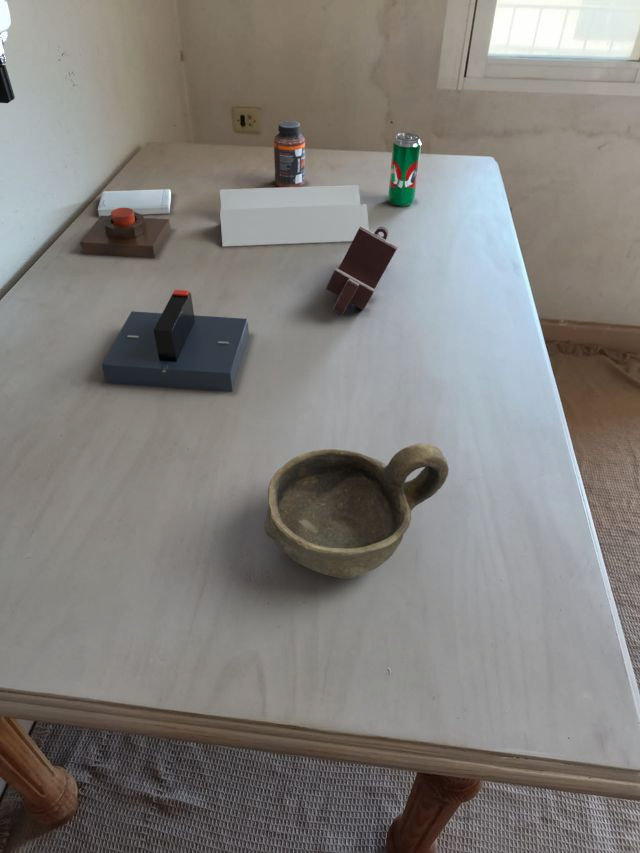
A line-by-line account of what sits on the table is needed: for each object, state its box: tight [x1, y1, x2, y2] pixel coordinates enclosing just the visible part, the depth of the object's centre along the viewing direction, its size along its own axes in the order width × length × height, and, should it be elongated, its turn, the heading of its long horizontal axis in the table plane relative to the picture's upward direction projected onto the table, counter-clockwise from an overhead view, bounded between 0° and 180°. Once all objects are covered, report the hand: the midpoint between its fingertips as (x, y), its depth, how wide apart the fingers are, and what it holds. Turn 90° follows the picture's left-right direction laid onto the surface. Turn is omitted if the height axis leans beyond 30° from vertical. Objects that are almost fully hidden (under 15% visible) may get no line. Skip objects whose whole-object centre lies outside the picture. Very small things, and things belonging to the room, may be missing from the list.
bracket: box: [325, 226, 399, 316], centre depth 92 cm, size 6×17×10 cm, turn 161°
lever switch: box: [100, 311, 250, 393], centre depth 81 cm, size 16×13×3 cm
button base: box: [79, 212, 172, 259], centre depth 105 cm, size 12×10×4 cm
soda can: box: [387, 132, 422, 208], centre depth 115 cm, size 5×5×12 cm
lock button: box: [111, 208, 135, 226], centre depth 103 cm, size 4×4×2 cm
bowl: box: [264, 442, 449, 580], centre depth 59 cm, size 14×18×10 cm
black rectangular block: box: [154, 289, 195, 362], centre depth 79 cm, size 9×2×5 cm, turn 174°
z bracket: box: [219, 184, 370, 248], centre depth 109 cm, size 12×25×6 cm
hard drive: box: [97, 188, 172, 218], centre depth 116 cm, size 2×8×12 cm
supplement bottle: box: [273, 120, 306, 188], centre depth 121 cm, size 6×6×11 cm
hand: (0, 100), depth 81 cm, fingers closed
